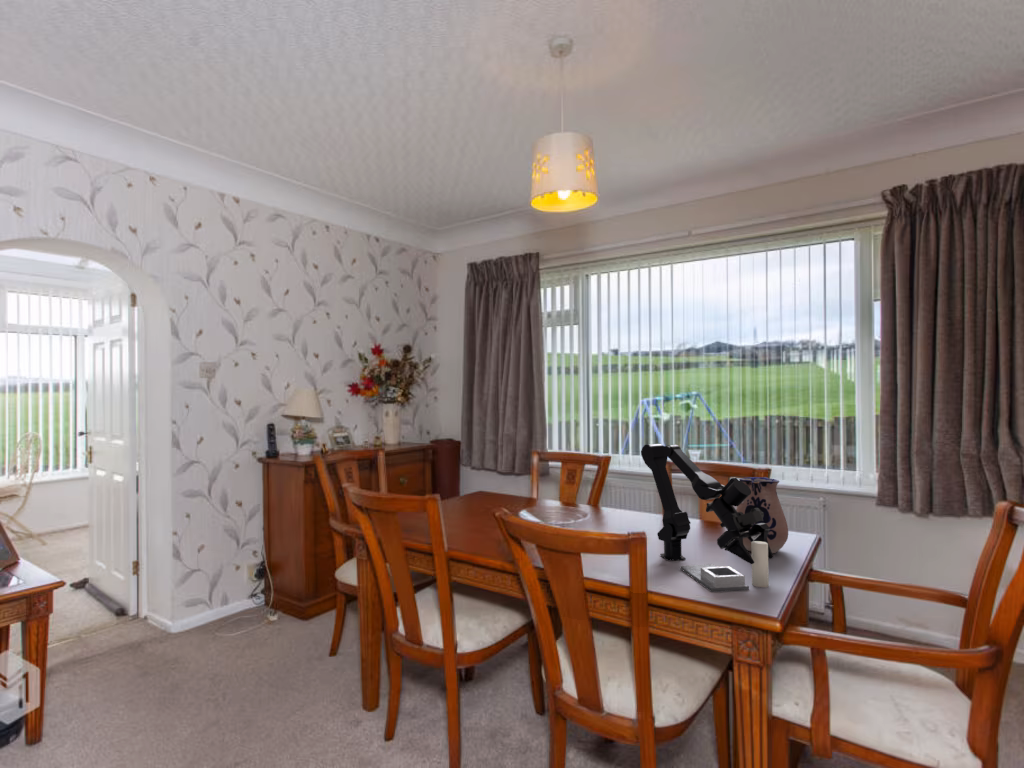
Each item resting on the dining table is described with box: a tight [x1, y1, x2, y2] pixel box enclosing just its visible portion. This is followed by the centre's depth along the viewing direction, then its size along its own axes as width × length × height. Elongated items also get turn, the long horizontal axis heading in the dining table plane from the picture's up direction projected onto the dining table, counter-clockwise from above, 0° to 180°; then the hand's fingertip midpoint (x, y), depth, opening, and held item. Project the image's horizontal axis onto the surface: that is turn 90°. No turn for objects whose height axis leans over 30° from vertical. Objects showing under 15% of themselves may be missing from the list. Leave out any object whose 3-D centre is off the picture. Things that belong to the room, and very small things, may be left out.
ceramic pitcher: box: [735, 476, 789, 554], centre depth 195 cm, size 18×21×25 cm
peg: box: [750, 541, 770, 588], centre depth 159 cm, size 4×4×12 cm
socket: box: [680, 563, 750, 593], centre depth 164 cm, size 20×11×4 cm, turn 7°
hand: (762, 560), depth 158 cm, fingers open, 9 cm apart
